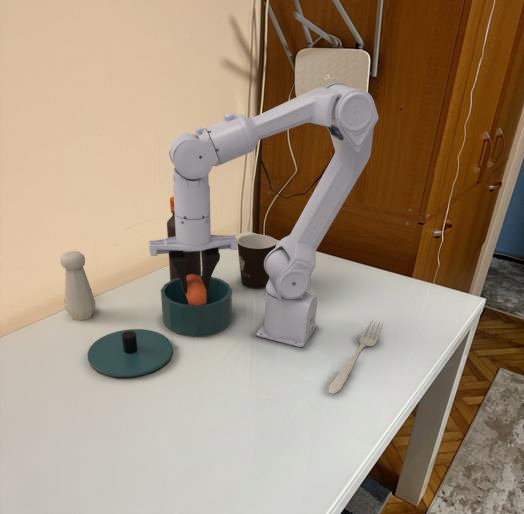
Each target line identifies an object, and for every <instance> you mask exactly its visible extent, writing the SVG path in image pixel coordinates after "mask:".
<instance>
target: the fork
mask: <svg viewBox="0 0 524 514" xmlns="http://www.w3.org/2000/svg"><path fill="white" fill-rule="evenodd" d="M373 321H374V320H373V319H371V321H370V323H369V324H368V326H367V327H366V328H365V330H364V332H363V333H362V334H361V336H360V337H359V339H358V343H359V344H360V345H359V346H358V348H357V349H356V351H355V352H354V354H353V355H352V356H351V358H350V359H349V360H348V361H347V363H346V364H345V365H344V366H343V368H342V369H341V370H340V371H339V373H338V374H337V375H336V377H334V379H333V380H332V381H331V382H330V384H329V385H328V393H329V394H331V395H334V394H336V393H339V392H340V391H341V390H342V388H343V386H344V385H345V383H346V381H347V379H348V377H349V375H350V373H351V371H352V369H353V367H354V366H355V363H356V360H357V358H358V356H359V355H360V354H361V351H362V350H363V348H365V347H373V346H375V345H376V344H377V342H378V340H379V338H380V335H381V333H382V330H383V327H384V324H385V323H384V322H382V324H381V322H380V321H379V322H378V323H377V320H375V322H374V323H373ZM372 324H373V325H372ZM376 324H377V325H376ZM380 324H381V326H380ZM375 326H376V327H375ZM374 328H375V329H374ZM373 330H374V331H373ZM372 332H373V333H372ZM366 334H367V335H366ZM371 334H372V335H371ZM376 334H377V335H376ZM375 335H376V337H375ZM370 336H371V337H370ZM374 338H375V339H374Z"/></svg>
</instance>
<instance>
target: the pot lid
mask: <svg viewBox="0 0 524 514" xmlns="http://www.w3.org/2000/svg"><path fill="white" fill-rule="evenodd" d="M172 355H173V344H172V342H171V340H170V339H169V338H168V337H167V336H166V335H164V334H162V333H160V332H157V331H155V330H150V329H143V328H129V329H123V330H118V331H113V332H111V333H108V334H105V335H104V336H101V337H100V338H98V339H97V340H96V341H94V342H93V343H92V344H91V345H90V347H89V349H88V351H87V361H88V363H89V365H90V367H91V368H93V369H94V370H95V371H97V372H98V373H100V374H104V375H107V376H110V377H120V378H121V377H122V378H124V377H125V378H127V377H128V378H129V377H136V376H141V375H145V374H149V373H151V372H152V373H153V371H156V370H158V369H160V368H162V367H163V366H164V365H165V364H167V362H168V361H169V360H170V359H171V357H172Z"/></svg>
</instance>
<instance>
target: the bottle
mask: <svg viewBox="0 0 524 514" xmlns="http://www.w3.org/2000/svg"><path fill="white" fill-rule="evenodd" d="M169 207H170V212H171V214H172V215H171V217H170V218H169V219H168V220H167V221H166V233H167V238H170V237H175V236H176V229H175V212H174V195H173V196H171V197H170V198H169ZM184 255H185V259H186V262H187V263H186V276H188V275H190V274H194V275H200V276H202V258H201V251H192V252H184ZM168 264H169V265H168V266H169V267H168V268H169V281H171V280H173V279H176V278H180V277H179V275H178V273H177V271H176V269H175V267H174V265H173V264H172V262H171V259H170V257H169V256H168Z"/></svg>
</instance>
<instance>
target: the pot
mask: <svg viewBox="0 0 524 514" xmlns="http://www.w3.org/2000/svg"><path fill="white" fill-rule="evenodd" d="M197 276H198V277H201V279H202V275H201V276H200V275H197ZM206 295H207V298H206V301H207V303H204V304H202V305H189V302H188V299H187V297H186V294H185V293H183V290H182V286H181V281H180V278H176V279H173V280H171V281H170V280H169V281H168V282H166V283H164V284H163V286H162V288H161V290H160V299H161V313H162V320H163V325H164V326H165V328H166V329H168V330H169V331H170V332H172V333H174V334H176V335H180V336H183V337H194V338H195V337H207V336H208V337H209V336H212V335H216V334H218V333H220V332H223V331H224V330H225V329H227V328H228V327H229V326H230V324H231V322H232V318H233V288H232V286H231V285H230V284H229V283H228V282H227V281H225V280H223V279H221V278H218V277H214V276H211V279H210V283H209V288H208V291H206Z"/></svg>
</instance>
